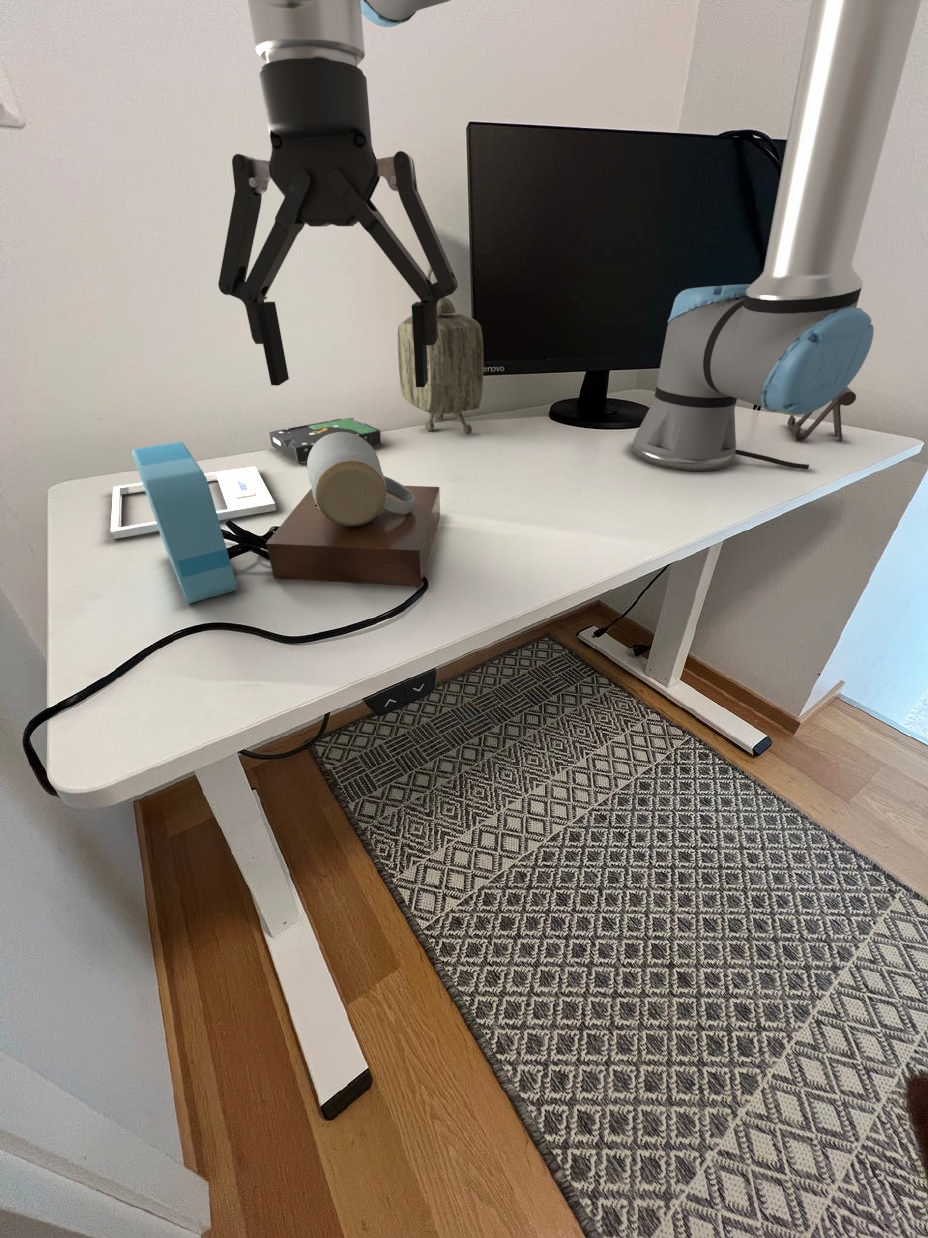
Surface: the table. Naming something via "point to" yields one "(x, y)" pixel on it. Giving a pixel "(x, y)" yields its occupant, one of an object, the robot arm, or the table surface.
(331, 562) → the walnut riser
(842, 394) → the tablet stand
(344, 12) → the robot arm
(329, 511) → the ceramic mug
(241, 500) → the photo frame
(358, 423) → the disk drive
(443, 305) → the tabletop clock
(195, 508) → the blue rounded block
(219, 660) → the table surface
